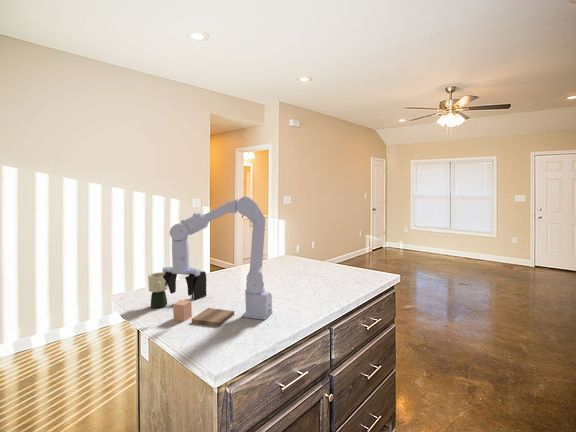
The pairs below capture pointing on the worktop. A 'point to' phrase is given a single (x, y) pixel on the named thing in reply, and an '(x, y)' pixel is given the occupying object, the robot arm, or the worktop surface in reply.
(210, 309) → the walnut board
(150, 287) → the character mug
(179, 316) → the terracotta block
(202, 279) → the battery charger
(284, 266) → the worktop surface
